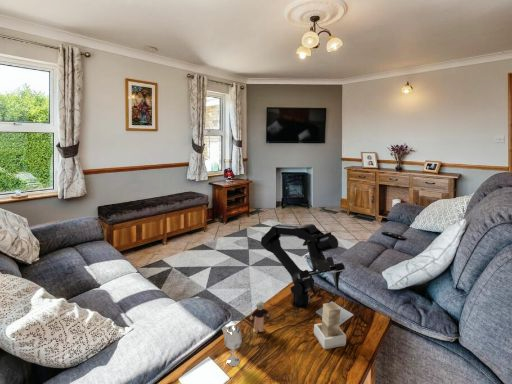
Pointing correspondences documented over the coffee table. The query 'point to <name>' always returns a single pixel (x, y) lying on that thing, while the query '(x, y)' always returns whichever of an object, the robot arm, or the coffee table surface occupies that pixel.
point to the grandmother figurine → (259, 317)
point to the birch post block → (330, 319)
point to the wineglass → (233, 343)
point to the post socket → (329, 338)
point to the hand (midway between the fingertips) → (326, 292)
